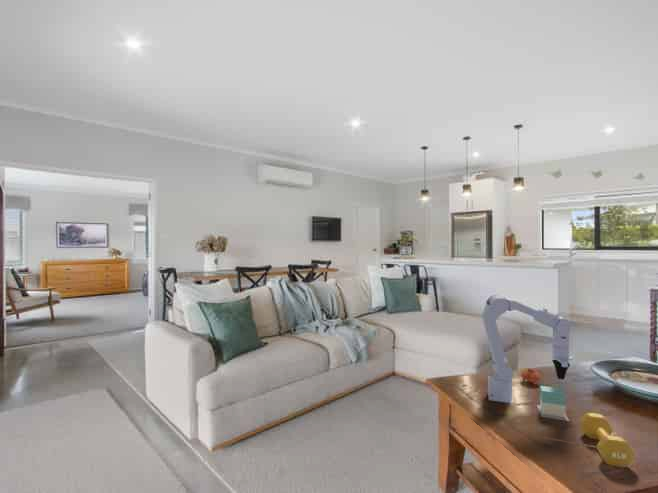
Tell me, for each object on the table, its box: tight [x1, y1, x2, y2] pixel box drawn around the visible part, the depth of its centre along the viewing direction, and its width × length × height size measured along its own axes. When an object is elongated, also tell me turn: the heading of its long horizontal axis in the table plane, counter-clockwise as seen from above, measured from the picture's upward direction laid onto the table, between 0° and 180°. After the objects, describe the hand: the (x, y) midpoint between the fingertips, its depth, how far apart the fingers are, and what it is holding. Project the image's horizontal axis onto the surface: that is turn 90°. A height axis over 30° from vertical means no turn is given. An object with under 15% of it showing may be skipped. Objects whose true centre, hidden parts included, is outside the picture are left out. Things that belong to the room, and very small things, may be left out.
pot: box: [520, 368, 541, 386], centre depth 164 cm, size 8×8×7 cm
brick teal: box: [539, 385, 566, 407], centre depth 135 cm, size 8×5×4 cm, turn 67°
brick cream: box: [539, 397, 566, 417], centre depth 135 cm, size 8×5×4 cm, turn 67°
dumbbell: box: [579, 412, 636, 469], centre depth 111 cm, size 19×9×8 cm, turn 160°
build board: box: [536, 404, 570, 422], centre depth 135 cm, size 9×10×1 cm
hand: (560, 378), depth 143 cm, fingers closed
